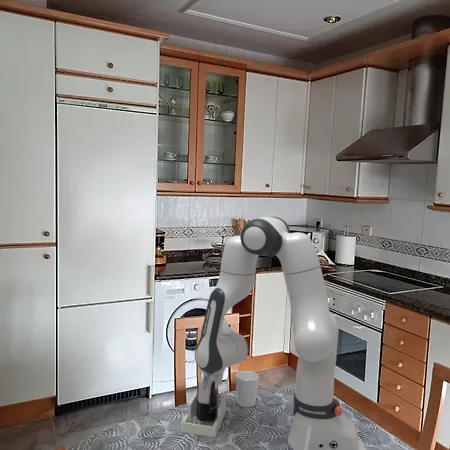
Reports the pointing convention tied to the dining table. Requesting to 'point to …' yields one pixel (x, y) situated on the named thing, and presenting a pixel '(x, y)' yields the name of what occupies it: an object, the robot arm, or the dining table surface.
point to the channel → (193, 408)
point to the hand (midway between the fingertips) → (210, 403)
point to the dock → (199, 428)
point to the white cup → (246, 388)
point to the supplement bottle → (207, 406)
